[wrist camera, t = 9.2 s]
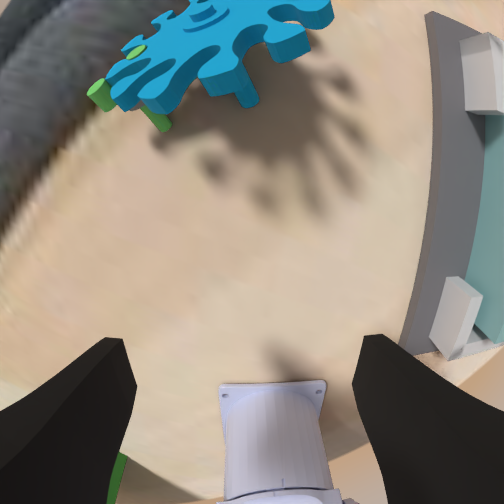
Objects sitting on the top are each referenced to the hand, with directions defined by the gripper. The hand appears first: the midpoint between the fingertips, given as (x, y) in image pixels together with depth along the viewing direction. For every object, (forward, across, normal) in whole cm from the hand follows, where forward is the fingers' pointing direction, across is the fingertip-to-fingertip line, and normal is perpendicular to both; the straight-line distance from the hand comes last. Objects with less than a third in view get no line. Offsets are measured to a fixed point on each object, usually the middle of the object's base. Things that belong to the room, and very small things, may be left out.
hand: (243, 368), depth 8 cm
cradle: (+9, -17, -4) cm, 20 cm away
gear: (+10, +2, -11) cm, 15 cm away
